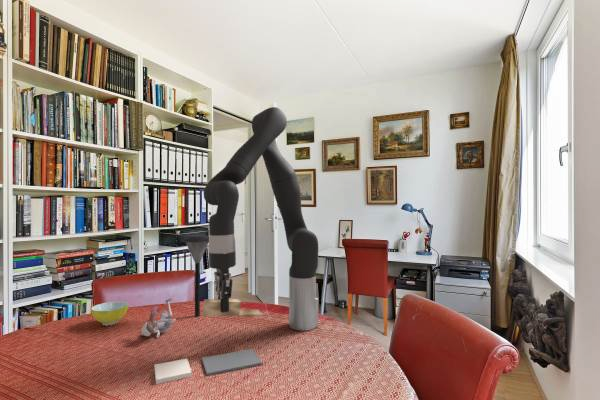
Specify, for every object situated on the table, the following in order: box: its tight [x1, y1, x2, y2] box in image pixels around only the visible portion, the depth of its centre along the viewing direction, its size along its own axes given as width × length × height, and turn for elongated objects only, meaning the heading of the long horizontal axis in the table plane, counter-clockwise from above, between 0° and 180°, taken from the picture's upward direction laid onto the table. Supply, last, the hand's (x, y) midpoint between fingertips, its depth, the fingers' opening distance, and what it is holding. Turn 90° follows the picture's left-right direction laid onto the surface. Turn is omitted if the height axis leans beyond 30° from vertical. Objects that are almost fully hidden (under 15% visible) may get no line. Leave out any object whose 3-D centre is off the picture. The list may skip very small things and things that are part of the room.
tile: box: [154, 358, 193, 385], centre depth 83 cm, size 2×8×8 cm
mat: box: [201, 348, 263, 377], centre depth 89 cm, size 14×9×1 cm, turn 114°
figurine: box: [140, 298, 177, 339], centre depth 108 cm, size 12×9×15 cm
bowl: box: [90, 301, 129, 327], centre depth 117 cm, size 11×12×6 cm
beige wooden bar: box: [201, 298, 264, 318], centre depth 98 cm, size 17×5×4 cm, turn 115°
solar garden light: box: [180, 234, 209, 318], centre depth 125 cm, size 12×12×30 cm
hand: (223, 309), depth 96 cm, fingers closed on beige wooden bar, 3 cm apart
